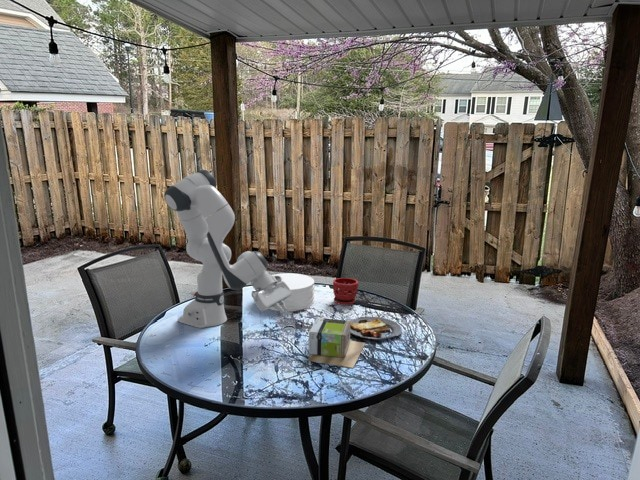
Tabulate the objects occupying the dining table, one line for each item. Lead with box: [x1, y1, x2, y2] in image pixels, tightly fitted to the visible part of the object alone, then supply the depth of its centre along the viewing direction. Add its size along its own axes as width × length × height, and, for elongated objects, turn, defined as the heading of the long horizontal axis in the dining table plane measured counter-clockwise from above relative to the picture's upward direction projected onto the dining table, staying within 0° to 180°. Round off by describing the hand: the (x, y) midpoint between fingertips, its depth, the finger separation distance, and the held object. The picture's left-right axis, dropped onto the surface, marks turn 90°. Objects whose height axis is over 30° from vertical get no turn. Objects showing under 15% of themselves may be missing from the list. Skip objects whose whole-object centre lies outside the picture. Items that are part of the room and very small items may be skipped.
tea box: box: [308, 317, 351, 358], centre depth 178 cm, size 15×10×15 cm
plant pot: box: [332, 277, 359, 306], centre depth 231 cm, size 13×13×12 cm
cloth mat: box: [307, 340, 366, 369], centre depth 177 cm, size 18×22×1 cm
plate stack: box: [267, 272, 315, 312], centre depth 232 cm, size 28×28×12 cm
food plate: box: [349, 315, 403, 340], centre depth 197 cm, size 25×23×4 cm
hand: (284, 311), depth 183 cm, fingers closed
